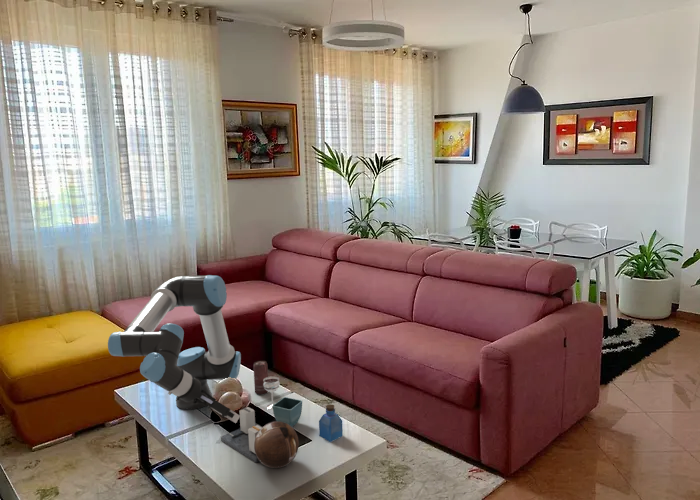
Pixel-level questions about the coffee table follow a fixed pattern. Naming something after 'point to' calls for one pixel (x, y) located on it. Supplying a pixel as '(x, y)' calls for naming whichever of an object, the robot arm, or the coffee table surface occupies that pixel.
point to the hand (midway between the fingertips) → (232, 416)
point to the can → (260, 376)
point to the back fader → (247, 419)
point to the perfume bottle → (330, 425)
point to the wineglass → (271, 387)
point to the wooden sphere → (276, 444)
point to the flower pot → (287, 410)
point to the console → (240, 443)
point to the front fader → (253, 436)
